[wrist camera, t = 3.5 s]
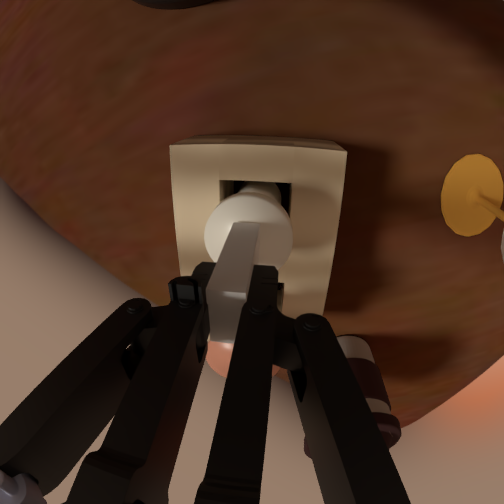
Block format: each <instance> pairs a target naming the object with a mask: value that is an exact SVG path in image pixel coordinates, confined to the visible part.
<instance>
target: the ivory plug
mask: <svg viewBox="0 0 504 504" xmlns="http://www.w3.org/2000/svg"><path fill="white" fill-rule="evenodd" d="M234 222H238V223H256V224H260V245H259V265H269V266H275V267H276V269H277V270H278V269H279V268H281V267H282V266H283V265H284V263H285V262H286V261H287V259H288V258H289V255H290V253H291V250H292V245H293V232H292V224H291V220H290V218H289V216H288V214H287V212H286V211H285V209H284V208H283V207H282V206H281V193H280V190H279V188H278V186H277V185H276V184H275V183H274V182H265V181H245V182H244V183H243V184H242V186H241V187H240V189H239V191H238V193H236V194H233V195H231V196H229V197H227V198H225V199H224V200H223V201H221V202H220V203H219V204H218V205H217V206H216V208H215V209H214V211H213V212H212V214H211V216H210V217H209V219H208V221H207V223H206V226H205V231H204V241H205V246H206V249H207V251H208V254H209V255H210V257H211V259H212V260H213V261H214V262H216V263H217V261H218V258H219V256H220V253H221V251H222V249H223V246H224V244H225V241H226V239H227V237H228V234H229V232H230V230H231V227H232V225H233V223H234Z"/></svg>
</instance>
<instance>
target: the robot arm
mask: <svg viewBox="0 0 504 504" xmlns="http://www.w3.org/2000/svg"><path fill="white" fill-rule="evenodd" d="M133 1H135V2H136V3H138V4H141V5H143V6H146V7H150V8H156V9H181V8H188V7H193V6H198V5H201V4H205V3H208V2H211V1H214V0H133ZM259 245H260V224H256V223H238V222H234V223H233V225H232V227H231V230H230V232H229V234H228V237H227V239H226V241H225V244H224V246H223V249H222V251H221V253H220V256H219V258H218V261H217V263H216V262H201V263H200V264H198V265H197V266H196V267H195V269H194V271H193V273H192V275H191V276H181V277H176V278H175V279H173V280H171V281H170V282H169V283H168V286H169V292H170V298H171V301H170V303H169V305H166V306H159V307H151V304H150V302H149V301H148V300H146V299H142V298H133V299H131V300H128V301H126V302H125V303H123V304H122V305H121V306H120V307H119V308H118V309H116V310H115V311H114V312H113V313H112V314H111V315H110V316H109V317H108V318H107V319H106V320H105V321H103V322H102V323H101V324H100V325H99V326H98V327H97V328H96V329H95V330H94V331H93V332H92V333H91V334H90V335H89V336H88V337H86V338H85V339H84V340H83V342H81V343H80V344H79V345H78V346H77V347H76V348H75V349H74V350H73V351H72V352H71V353H70V354H69V355H68V356H67V357H66V358H65V359H64V360H63V361H62V362H61V363H60V364H59V365H58V366H57V367H56V368H55V369H54V370H53V371H52V372H51V373H50V374H49V375H48V376H47V377H46V378H45V379H44V380H43V381H42V382H41V383H40V384H39V385H38V386H37V387H36V388H35V389H34V390H33V391H32V392H31V393H30V394H29V395H28V396H27V397H26V398H25V399H24V400H23V401H22V402H21V404H20V405H19V406H18V407H17V408H16V409H15V410H14V411H13V412H12V413H11V414H10V415H9V416H8V417H7V419H6V420H5V421H4V422H3V423H2V424H1V425H0V504H47V502H46V500H45V499H44V498H43V496H45V495H47V494H48V493H50V492H51V491H52V490H53V489H55V488H56V487H57V486H58V485H59V484H60V483H61V482H62V481H63V480H64V479H65V477H66V476H67V475H68V474H69V472H70V471H71V470H72V469H73V467H74V466H75V465H76V463H77V462H78V461H79V460H80V458H81V457H82V456H83V455H84V453H85V452H86V451H87V449H88V448H89V447H90V446H91V444H92V443H93V442H94V441H95V439H96V438H97V437H98V436H99V434H100V433H101V432H102V430H103V429H104V428H105V427H106V425H107V424H108V423H109V422H110V420H111V419H112V418H113V416H114V415H115V416H114V418H113V421H112V423H111V425H110V427H109V430H108V432H107V434H106V437H105V439H104V441H103V444H102V446H101V447H100V449H99V450H98V451H95V452H91V453H89V454H88V455H86V457H85V458H84V460H83V462H82V464H81V466H80V469H79V471H78V474H77V476H76V478H75V481H74V483H73V486H72V488H71V491H70V494H69V496H68V498H67V501H66V502H64V503H62V504H168V501H169V499H168V488H169V484H170V481H171V477H172V473H173V470H174V466H175V462H176V459H177V455H178V452H179V448H180V444H181V441H182V437H183V434H184V430H185V427H186V423H187V420H188V416H189V413H190V409H191V406H192V402H193V399H194V395H195V392H196V389H197V385H198V381H199V378H200V375H201V371H202V368H203V365H204V361H205V358H206V354H207V351H208V343H207V340H208V336H209V333H210V341H214V342H222V343H232V344H234V346H233V351H232V355H231V360H230V364H229V369H228V373H227V378H226V382H225V387H224V392H223V396H222V401H221V405H220V410H219V415H218V419H217V423H216V428H215V433H214V437H213V441H212V446H211V450H210V455H209V460H208V464H207V468H206V473H205V477H204V479H203V481H202V483H201V484H200V486H199V488H198V490H197V494H196V498H195V502H194V504H259V501H260V491H261V480H262V471H263V463H264V454H265V453H264V452H265V444H266V434H267V424H268V413H269V402H270V391H271V380H272V368H273V365H276V366H278V367H281V368H284V369H287V373H288V377H289V380H290V384H291V387H292V391H293V394H294V398H295V401H296V405H297V408H298V411H299V415H300V419H301V422H302V426H303V429H304V433H305V436H306V440H307V443H308V447H309V450H310V454H311V457H312V461H313V464H314V468H315V471H316V475H317V479H318V482H319V486H320V489H321V493H322V496H323V500H324V503H325V504H411V503H410V500H409V498H408V496H407V493H406V490H405V488H404V486H403V483H402V481H401V478H400V476H399V473H398V471H397V469H396V466H395V464H394V462H393V459H392V457H391V455H390V452H389V450H388V448H387V445H386V443H385V441H384V438H383V436H382V434H381V432H380V429H379V427H378V425H377V423H376V420H375V418H374V416H373V414H372V412H371V409H370V407H369V405H368V403H367V401H366V398H365V396H364V394H363V392H362V390H361V388H360V386H359V383H358V381H357V379H356V377H355V375H354V373H353V371H352V369H351V367H350V364H349V362H348V360H347V358H346V356H345V354H344V352H343V350H342V348H341V346H340V344H339V342H338V340H337V338H336V336H335V334H334V332H333V329H332V327H331V325H330V323H329V322H328V321H327V319H326V318H324V317H323V316H321V315H318V314H315V313H305V314H301V315H300V316H298V317H297V318H296V319H294V318H290V317H288V316H285V315H284V314H282V313H281V312H280V311H279V309H278V308H277V293H278V275H279V272H278V270H277V269H276V267H275V266H269V265H259ZM128 345H130V346H129V347H128V348H127V346H128ZM126 348H127V349H126Z"/></svg>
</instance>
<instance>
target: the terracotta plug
mask: <svg viewBox="0 0 504 504" xmlns="http://www.w3.org/2000/svg"><path fill="white" fill-rule="evenodd" d="M233 346H234V344H232V343H222V342H214V341H210V339H209V342H208V351H207V354H206V360H207V362H208V364H209V365H210V367H211V368H212V369H213V370H214V371H215V372H217V373H218V374H219V375H221V376H223V377H225V378H227V373H228V369H229V364H230V360H231V355H232V351H233ZM279 369H280V367H278V366H276V365H273V368H272V376H274V375H275V374H276V373H277V372H278V371H279Z"/></svg>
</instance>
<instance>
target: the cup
mask: <svg viewBox="0 0 504 504" xmlns="http://www.w3.org/2000/svg"><path fill="white" fill-rule="evenodd" d="M502 201H503V181H502V177H501V174H500V170H499V169H498V168H497V166H496V165H495V164H494V162H493V161H492V160H491V159H490V158H487V157H485V156H483V155H481V154H471V155H466V156H465V157H463V158H462V159H460V160H459V161H457V162H456V163H454V165H453V167H452V168H451V170H450V171H449V173H448V174H447V176H446V177H445V181H444V184H443V188H442V191H441V211H442V214H443V217H444V219H445V222H446V224H447V225H448V226H449V227H450V228H451V229H452V230H453V231H454V232H455V233H456V234H459V235H463V236H466V237H469V236H473V235H477V234H480V233H481V232H483V231H484V230H485V229H487V228H488V227H489V226H490V225H491V224H492V222H493V221H494V220H495V218H496V217H498V218H499V219H500V220H502V221H503V222H504V211H502V210H501V209H500V207H501V204H502ZM501 251H502V257H503V262H504V230H503V234H502V242H501Z"/></svg>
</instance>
